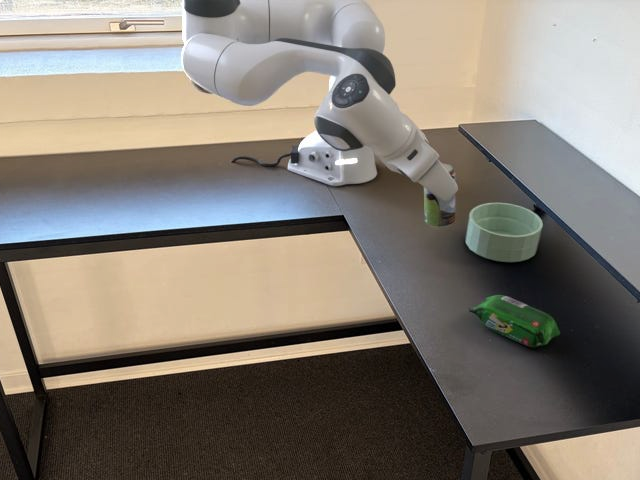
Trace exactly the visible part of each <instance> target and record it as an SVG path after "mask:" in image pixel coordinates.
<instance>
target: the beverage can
mask: <svg viewBox="0 0 640 480" xmlns="http://www.w3.org/2000/svg"><path fill="white" fill-rule="evenodd" d="M441 163H442V165H443V166H444V167H445V169H446V170H447V171H448V173H449V174H450V175H451V177H452V178H453V180H454V181H455V182H456V172H455V170H454V169H453V166H452V165H451V164H450V163H449V164H448V163H443V162H441ZM423 203H424V204H423V205H424V207H423V208H424V210H423V211H424V222H425V224H427V225H429V226H430V227H431V228H435V229H442V228H443V229H445V228H448V227H450V226H451V225H452V224H454V223H455V221H456V193H455V194H454V195H453V197H452V198H451V199H450V200H449V201H447V202H444V201H442V200H440V199H439V198H438V197H436V196H435V195H434V194H432V193H431V192H430V191H429V190H427V189H426V188H425V187H424V186H423Z"/></svg>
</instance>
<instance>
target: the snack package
mask: <svg viewBox="0 0 640 480" xmlns="http://www.w3.org/2000/svg"><path fill="white" fill-rule="evenodd" d="M468 312H469V313H471V314H474V315H475V316H477V318H478V319H479V321H480V322H481V323H482V325H484V326H485V327H486V328H487V329H489V330H490V331H493V332H495V333H496V334H498V335H501V336H502V337H505V338H507V339H510V340H511V341H514V342H517V343H518V344H521V345H523V346H526V347H529V348H538V347H543V346H547V345H548V344H549V342H550V341H551V340H552V339H554V338H556V337H558V336H560V334H561V331H560V330H559V327H558V325H557V322H556V320H555V319H554V318H553V317H552V316H551V315H550V314H548V313H546V312H544V311H543V310H541V309H537V308H535V307H533V306H530V305H528V304H526V303H524V302H522V301H519V300H517V299H514V298H512V297H511V296H507V295H503V294H495V295H492V296H487V297H485V298H484V299H483V301H482V302H480V304H478V305H476V306H474V307H472V308H468Z"/></svg>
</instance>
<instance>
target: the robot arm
mask: <svg viewBox="0 0 640 480" xmlns="http://www.w3.org/2000/svg"><path fill="white" fill-rule="evenodd" d="M181 8H182V9H183V10H182V40H183V43H184V46H183V48H182V51H181V56H180V57H181V58H180V59H181V67H182V69H183V72H184V73H185V75H186V76H187V77H188V79H189V82H190V84H191V85H192V86H193V87H194V88H195V89H196V90H198V91H199V92H201V93H204V94H207V95H214V96H216V97H219V98H221V99H224V100H225V101H228V102H231V103H233V104H236V105H239V106H243V107H254V106H258V105H260V104H262V103H264V102H266V101H267V100H269V99H270V98H272V97H273V96H274V95H275V94H276V93H278V91H279V90H280V89H281V88H283V86H284V85H286V84H287V83H288V82H289V81H291V80H292V79H294V78H295V77H297V76H299V75H301V74H304V73H311V72H312V73H315V74H321V75H326V76H330V77H329V82H328V92H327V93H326V94H325V96H324V97H323V99H322V102H321V103H320V105H319V107H318V108H317V110H316V112H315V115H314V117H313V122H314V127H315V130H314V131H313V132H312V133H310V134H309V135H307V136H306V137H305V138H303V139H302V140H301V142H300V144H299V145H292V146H291V149H290V152H288V153H284V154H281V155H280V156H279V157H278V158H277V160H276V162H273V163H269V162H268V163H266V162H263V161H262V160H261V159H259V158H254V157H251V156H246V155H239V156H236V157H234V158H232V159H231V160H230V163H235V162H236V161H239V160H246V161H250V162H255V163H258V164H259V165H260V166H263V167H270V168H271V167H276V166H278V165H279V164H280V163H281V161H282V159H284V158H287V157H290V159H289V161H288V163H287V170H288V171H289V172H292V173H295V174H297V175H300V176H303V177H306V178H309V179H311V180H313V181H314V180H315V181H316V182H320V183H323V184H325V185H328V186H331V187H340V186H344V185H357V184H364V183H367V182H369V181H370V182H371V181H372V180H374V179H375V178H376V177H377V175H378V171H377V170H378V169H377V167H376V160H375V157H377V158H378V160H380V162H382V164H383V165H384V166H385V167H386V168H387V169H389V170H390V171H391V172H393V173H395V172H396V173H397V174H401V175H402V176H404V177H406V178H407V179H408V180H409V181H412V182H413V183H418V184H420V185H421V187H423V188H424V187H425V188H426V189H427V190H429V191H430V192H431V193H432V194H434V195H435V196H436V197H438V198H439V199H440V200H442V201H444V202H447V201H449V200H450V199H451V198H452V197H453V195H454V194H455V195H456V193H457V192H458V191H459V187H458V184H457V182H456V180H455V181H454V180H453V178H452V177H451V175H450V174H449V173H448V171H447V170H446V169H445V167H444V166H443V165H442V163H443V162H441V161H440V159H439V158H440V155H439V153H438V151H436V150H435V148H434V147H433V146H432V145H431V144H430V142H429V141H428V139H427V137H426V135H425V133H424V132H423V131H422V130H421V129H420V128H419V126H418V125H417V124H416V123H415V122H414V120H412V119H411V117H410V116H408V115H407V114H405V113H403V112H402V111H401V109H400V106H399V105H398V103H397V102H396V101H395V99H394V98H393V97H392V96H391V93H392V92H393V91H394V89H395V88H396V85H397V83H396V81H397V80H396V73H395V69H394V66H393V64H392V62H391V60H390V59H389V58H388V57H387V56H386V54H384V50H385V47H386V32H385V28H384V27H385V26H384V25H383V23H382V21H381V19H379V17H378V15H377V14H376V13H375V11H374V10H373V9H372V7H371V6H370V4H369V3H368V2H367V1H365V0H181Z"/></svg>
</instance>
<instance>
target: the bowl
mask: <svg viewBox="0 0 640 480" xmlns="http://www.w3.org/2000/svg"><path fill="white" fill-rule="evenodd" d="M543 228H544V224H543V220H542V219H541V217H540V216H539V215H538V214H537V213H536V212H534V211H532V210H530V209H529V208H526V207H524V206H521V205H517V204H513V203H507V202H487V203H482V204H478V205H477V206H475V207H473V208H472V209H471V210H470V212H469V214H468V221H467V227H466V231H465V244H466V246H467V247H468V249H469V250H470V251H472V252H473V253H475V254H476V255H478V256H480V257H481V258H485V259H488V260H492V261H496V262H503V263H518V262H522V261H526V260H530V259H531V258H532V257H534V256H535V255H536V253H537V251H538V248H539V244H540V240H541V236H542V231H543Z"/></svg>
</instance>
